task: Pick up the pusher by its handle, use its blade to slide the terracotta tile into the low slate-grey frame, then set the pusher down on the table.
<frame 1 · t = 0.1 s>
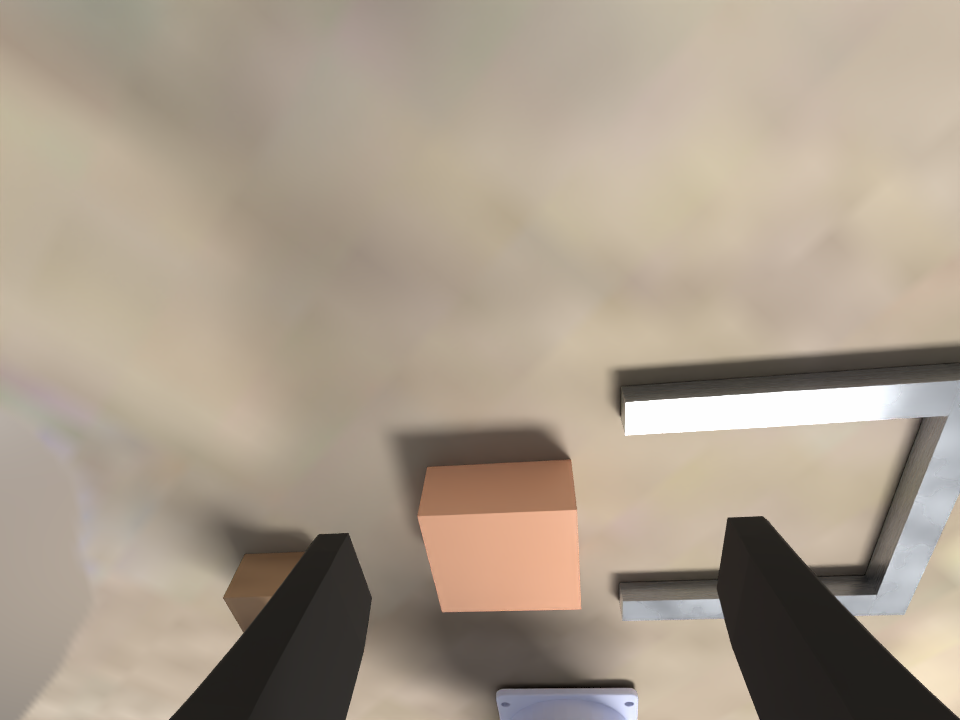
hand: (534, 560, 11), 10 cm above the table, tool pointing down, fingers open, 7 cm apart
pusher: (308, 601, 29), on the table
tile: (505, 508, 25), on the table
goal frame: (772, 502, 23), on the table
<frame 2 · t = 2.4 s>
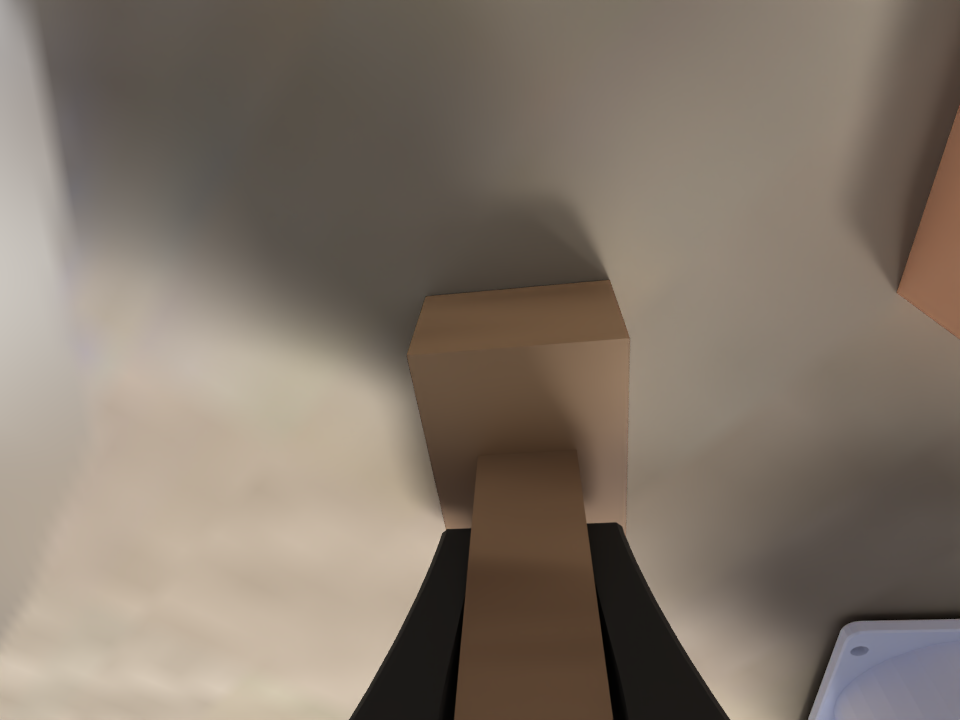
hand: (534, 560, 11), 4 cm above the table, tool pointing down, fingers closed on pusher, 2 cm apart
pusher: (530, 431, 14), on the table, touching gripper
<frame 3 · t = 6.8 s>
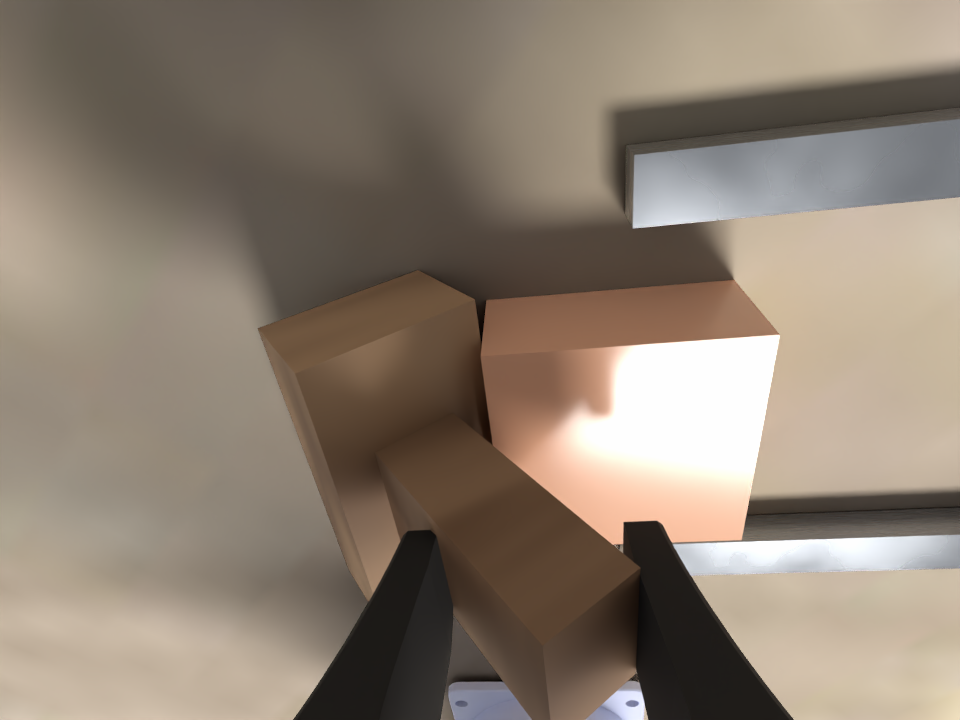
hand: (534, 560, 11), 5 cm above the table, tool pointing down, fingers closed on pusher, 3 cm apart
pusher: (380, 432, 15), point 1 cm above the table, tilted 38°, touching gripper
tile: (605, 384, 15), on the table
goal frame: (865, 377, 14), on the table
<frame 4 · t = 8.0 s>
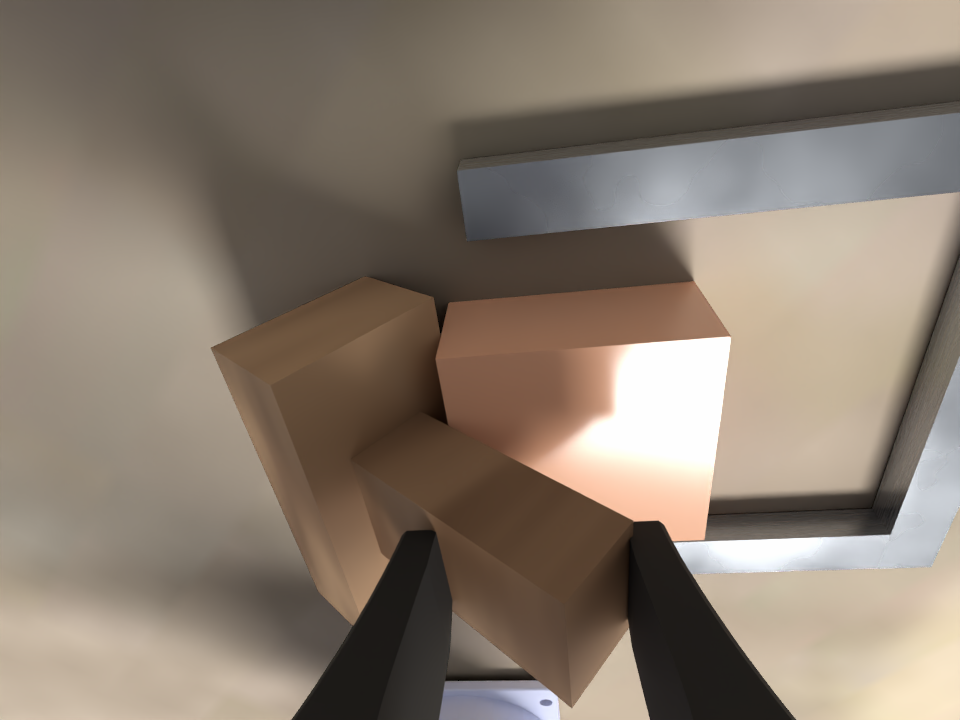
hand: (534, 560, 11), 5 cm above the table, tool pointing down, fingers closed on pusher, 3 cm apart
pusher: (340, 443, 15), point 2 cm above the table, tilted 50°, touching gripper
tile: (571, 385, 15), on the table
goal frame: (726, 384, 15), on the table
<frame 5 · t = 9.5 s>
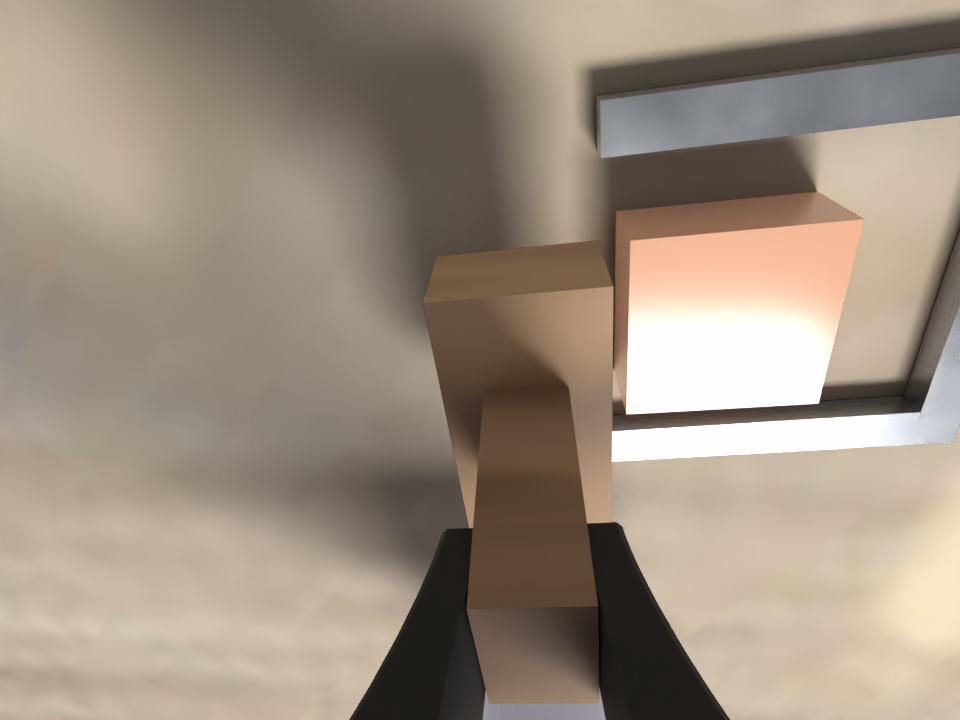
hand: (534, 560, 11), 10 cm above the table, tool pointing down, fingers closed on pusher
pusher: (528, 379, 16), point 4 cm above the table, touching gripper
tile: (702, 286, 19), on the table
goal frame: (790, 284, 18), on the table
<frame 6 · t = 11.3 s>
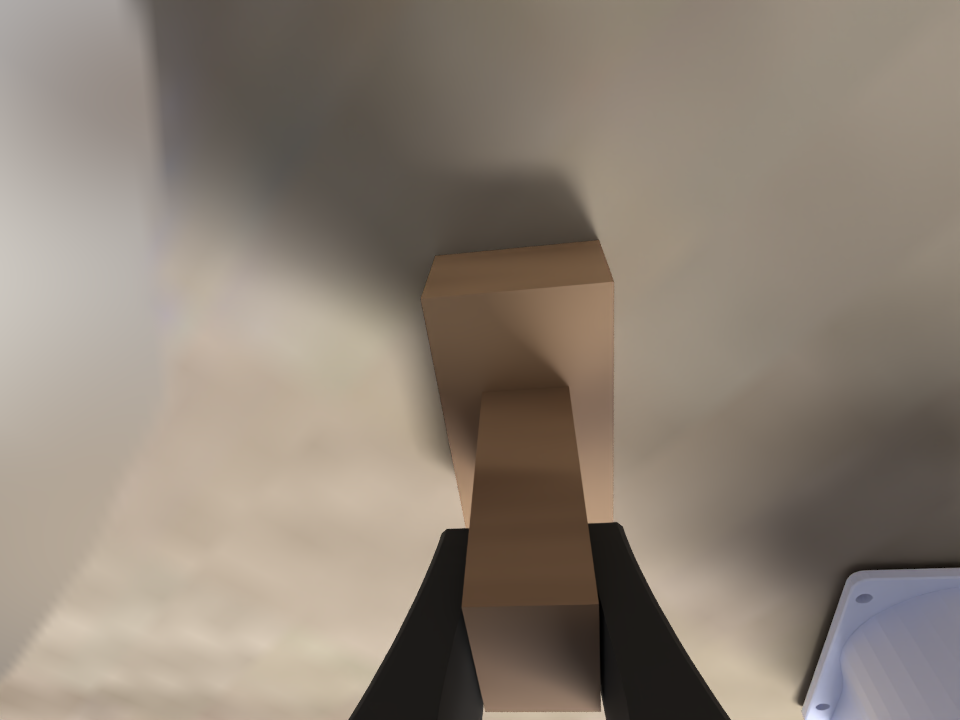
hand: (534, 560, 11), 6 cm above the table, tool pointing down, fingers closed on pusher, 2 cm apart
pusher: (528, 382, 16), on the table, touching gripper
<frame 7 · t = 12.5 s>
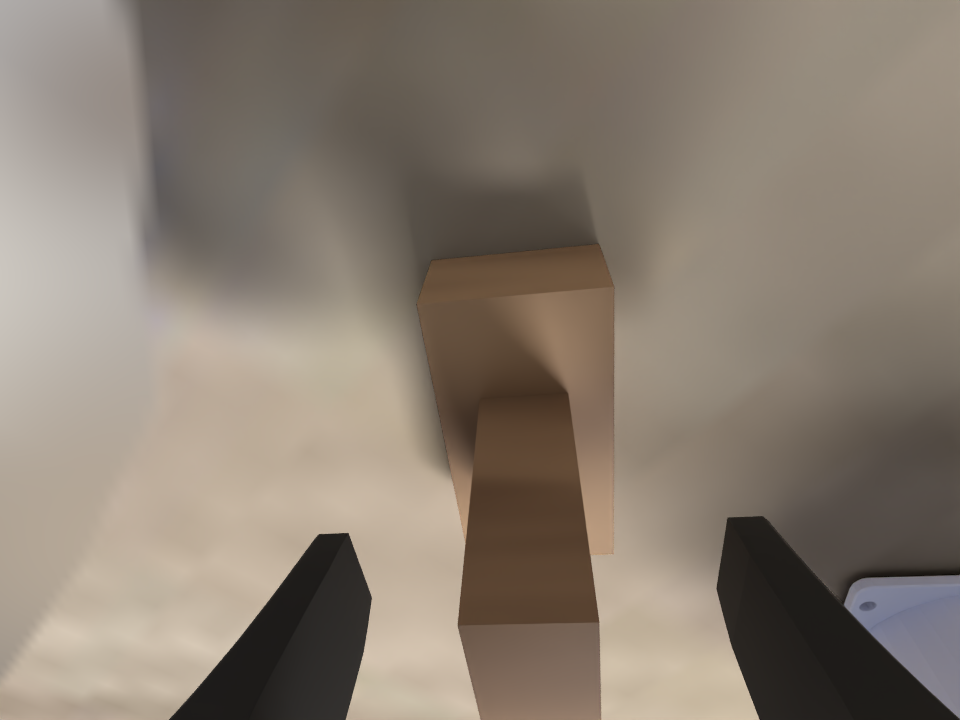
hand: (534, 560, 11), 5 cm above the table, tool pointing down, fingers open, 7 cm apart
pusher: (527, 387, 15), on the table
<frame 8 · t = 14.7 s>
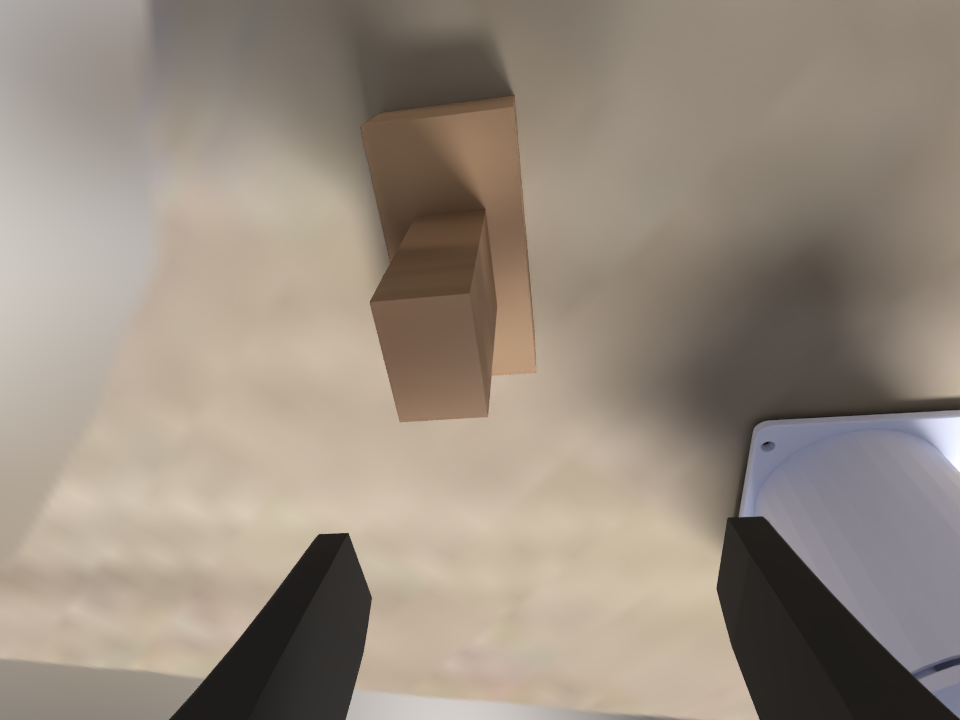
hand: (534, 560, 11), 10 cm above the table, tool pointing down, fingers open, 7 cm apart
pusher: (465, 234, 18), on the table
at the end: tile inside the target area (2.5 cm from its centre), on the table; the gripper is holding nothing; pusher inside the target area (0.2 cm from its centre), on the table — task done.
